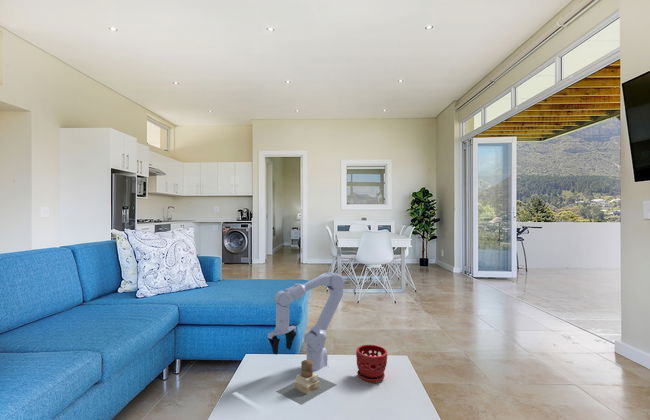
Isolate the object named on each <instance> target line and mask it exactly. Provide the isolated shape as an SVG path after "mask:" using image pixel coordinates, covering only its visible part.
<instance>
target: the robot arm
mask: <svg viewBox="0 0 650 420" xmlns="http://www.w3.org/2000/svg"><path fill="white" fill-rule="evenodd" d="M345 284H346V282H345V280H344V278H343V276H342V275H341V274H339V273H335V272H332V271H326V272H324V273H322V274H320V275H319V276H316V277H314V278H313V279H311V280H309V281H307V282H305V283H303V284H302V283H294V284H293V286H291V287H288V288H287V287H286V288H284V290H279V291H277V292H276V293H275V296H274V298H273V299H274V301H275V303H276V304H275V306H276V308H275V328H274V330H272V331H271V332H268V333H267V339H268V341H269V343H270V346H271V350H272V354H273V355H278V354H279V343H280V341H281V338H278V337H280V336H282V335H285V336H284V337H285V347H286V349H287V350H289V351H290V350H291V349H292V346H293V343H294V339H295V338H296V335H297V326H295V325H290V305H291V303H292V302H294V301H296V300H298V299H300V298H302V297H303V296H305V295H306V292H309V291H310V290H311V291H312V290H313V289H315V288H318V287H320V286H326V287H327V289H328V292H329V296H328V298H327V300H326V302H325V304H324V307H322V310H321V312H320V315H319V317H318V319H317V321H316V323H315V325H314V326H312V327H310V329H309V331H308V332H307V333H306V334H305V336H304V342H305V344H306V360H311V361H312V362H313V372H314V371H320V370H322V369H323V368H325V367H326V368H329V366H328V350H327V348H326V347H325V345H326V340H327V337H328V336H327V330H328V327H329V325H330V323H331V321H332V319H333V316H334V315H335V313H336V311H337V308H338V307H339V304H340V302H341V299H342V298H343V294H344V286H345Z"/></svg>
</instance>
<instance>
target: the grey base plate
mask: <svg viewBox="0 0 650 420" xmlns="http://www.w3.org/2000/svg"><path fill="white" fill-rule="evenodd" d="M318 381H320V388H318V389H316V390H314V391H313V392H311V393H309V394H305V393H303V392H301V391H299V390H297V389H295V381H294V382H292V383H290V384H288V385H287V386H285V387H283V388H280V389H278V390H276V391H275V392H276V393H277V394H280V395H282V396H284V397H285V398H287V399H289V400H291V401H293V402H295V403H297V404H299V405H304V404H306V403H307V402H309V401H311V400H313V399H314V398H316V397H317V396H320V395H321V394H323V393H326V391H329V390H330V389H333V388H334V387H335V386H337V384H336V383H334V382H331V381H329V380H326V379H325V378H322V377H320V376H318Z"/></svg>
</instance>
